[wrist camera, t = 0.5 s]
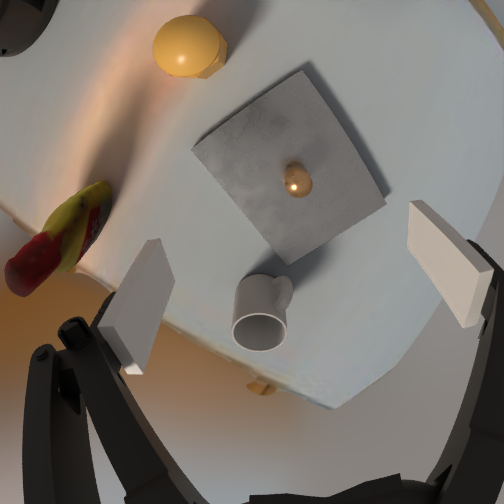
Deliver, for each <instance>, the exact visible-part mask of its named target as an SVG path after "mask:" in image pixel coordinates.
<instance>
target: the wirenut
mask: <svg viewBox="0 0 504 504" xmlns="http://www.w3.org/2000/svg"><path fill="white" fill-rule="evenodd" d="M227 48H228V43H227V42H226V41H225V39H224V38H223V36H222V35H221V34H220V33H219V32H218V31H217V30H216V29H215V27H214V26H213V25H212V24H211V23H210V22H209V21H208V20H207V19H206V18H202V17H199V16H193V15H185V16H180V17H177V18H174V19H172V20H170V21H169V22H167V23H166V24H165V25H164V26H162V28H161V29H160V30H159V31H158V33H157V35H156V37H155V39H154V42H153V55H154V59H155V61H156V63H157V64H158V65H159V67H160V68H161V69H163V70H164V71H165V72H167V73H168V74H169V75H170V76H175V77H183V78H200V79H207V78H208V77H210V76H211V75H212V74H214V73H215V72H216V71H218V70H219V69H220V68H222V67H223V66H224V65H225V61H226V54H227Z"/></svg>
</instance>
